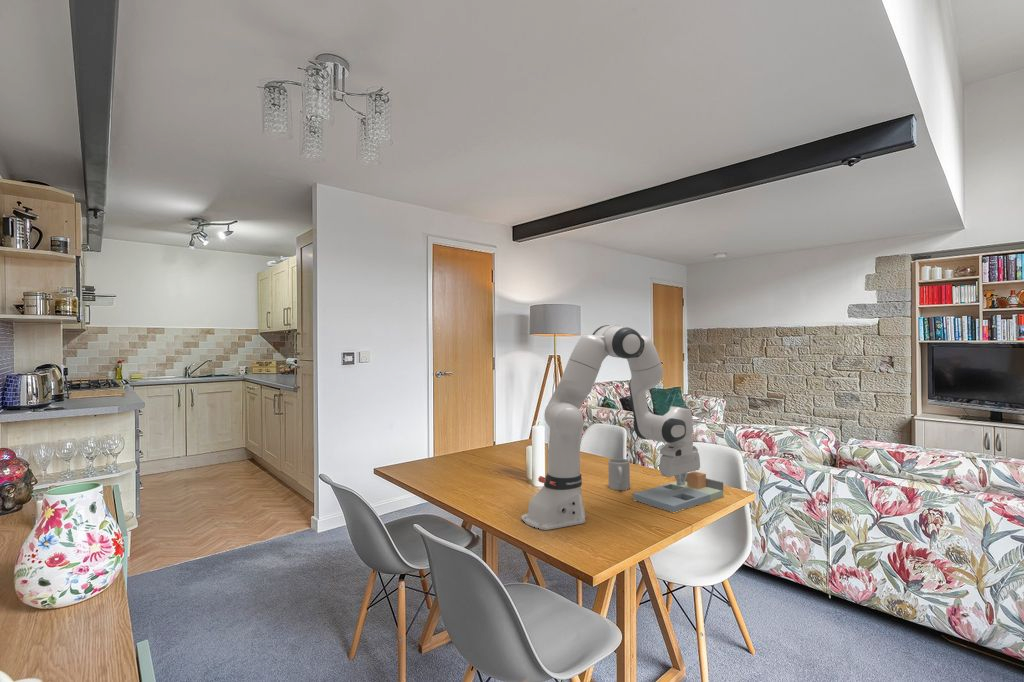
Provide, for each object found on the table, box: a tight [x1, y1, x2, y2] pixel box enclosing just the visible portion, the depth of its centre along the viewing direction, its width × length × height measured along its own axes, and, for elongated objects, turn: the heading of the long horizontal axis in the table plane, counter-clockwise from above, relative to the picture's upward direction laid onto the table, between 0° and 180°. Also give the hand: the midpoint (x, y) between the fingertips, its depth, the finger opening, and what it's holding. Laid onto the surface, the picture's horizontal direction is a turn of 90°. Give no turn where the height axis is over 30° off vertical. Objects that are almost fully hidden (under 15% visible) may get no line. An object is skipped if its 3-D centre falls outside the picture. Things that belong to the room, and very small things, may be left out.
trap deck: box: [632, 477, 724, 513], centre depth 180 cm, size 30×18×6 cm, turn 125°
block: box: [687, 470, 707, 489], centre depth 187 cm, size 5×5×5 cm
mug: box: [607, 457, 631, 491], centre depth 194 cm, size 12×8×11 cm
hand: (680, 485), depth 182 cm, fingers closed
